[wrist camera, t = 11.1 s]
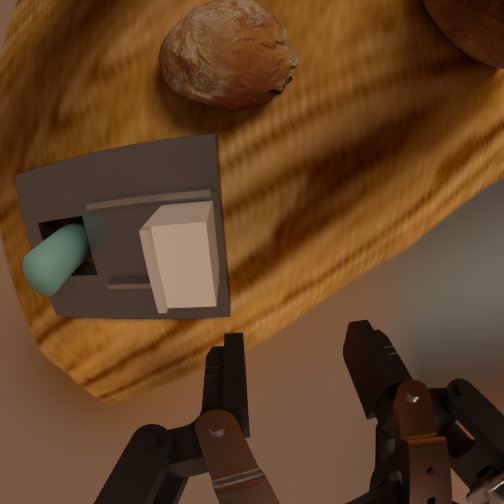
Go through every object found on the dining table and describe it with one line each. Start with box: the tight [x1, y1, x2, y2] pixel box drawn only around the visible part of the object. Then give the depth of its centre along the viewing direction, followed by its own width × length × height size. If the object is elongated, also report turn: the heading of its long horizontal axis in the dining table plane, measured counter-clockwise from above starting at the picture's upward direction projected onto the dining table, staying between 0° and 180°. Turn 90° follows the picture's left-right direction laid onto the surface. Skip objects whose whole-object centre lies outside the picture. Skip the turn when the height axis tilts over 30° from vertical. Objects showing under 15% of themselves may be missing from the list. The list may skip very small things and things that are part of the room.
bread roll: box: [159, 0, 299, 111], centre depth 16 cm, size 10×10×8 cm
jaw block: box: [139, 201, 220, 313], centre depth 19 cm, size 6×4×6 cm, turn 2°
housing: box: [15, 134, 231, 319], centre depth 23 cm, size 16×20×4 cm
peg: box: [22, 218, 91, 296], centre depth 21 cm, size 4×4×8 cm
